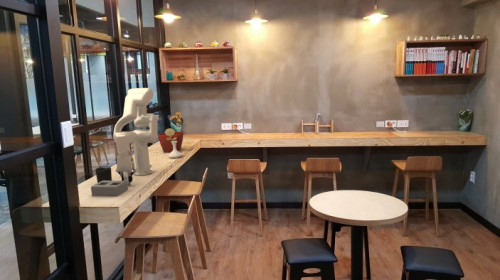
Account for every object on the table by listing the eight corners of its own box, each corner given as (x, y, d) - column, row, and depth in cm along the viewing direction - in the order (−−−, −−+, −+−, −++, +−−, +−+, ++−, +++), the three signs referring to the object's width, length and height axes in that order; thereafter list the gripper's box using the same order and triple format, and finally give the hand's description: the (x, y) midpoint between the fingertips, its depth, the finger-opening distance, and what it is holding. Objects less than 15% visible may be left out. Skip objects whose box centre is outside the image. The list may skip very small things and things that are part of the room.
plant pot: (165, 149, 325) (163, 131, 322) (184, 148, 324) (183, 131, 321) (159, 153, 306) (157, 135, 303) (180, 153, 305) (178, 134, 302)
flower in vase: (183, 155, 294) (181, 127, 289) (179, 158, 283) (177, 129, 278) (169, 155, 295) (166, 127, 291) (164, 159, 284) (162, 129, 280)
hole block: (103, 189, 210) (102, 180, 209) (127, 189, 207) (126, 180, 206) (91, 195, 198) (90, 186, 197) (117, 196, 196) (116, 187, 195)
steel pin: (126, 184, 217) (124, 167, 215) (132, 184, 217) (130, 167, 214) (123, 186, 213) (121, 169, 211) (129, 186, 213) (127, 169, 211)
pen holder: (108, 180, 228) (106, 166, 226) (115, 182, 222) (113, 168, 220) (94, 184, 221) (92, 169, 219) (101, 186, 215) (99, 171, 213)
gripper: (139, 152, 213) (142, 180, 217) (115, 152, 216) (118, 179, 220) (133, 155, 206) (136, 184, 210) (108, 155, 209) (111, 183, 212)
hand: (127, 181), depth 215 cm, fingers closed on steel pin, 4 cm apart
